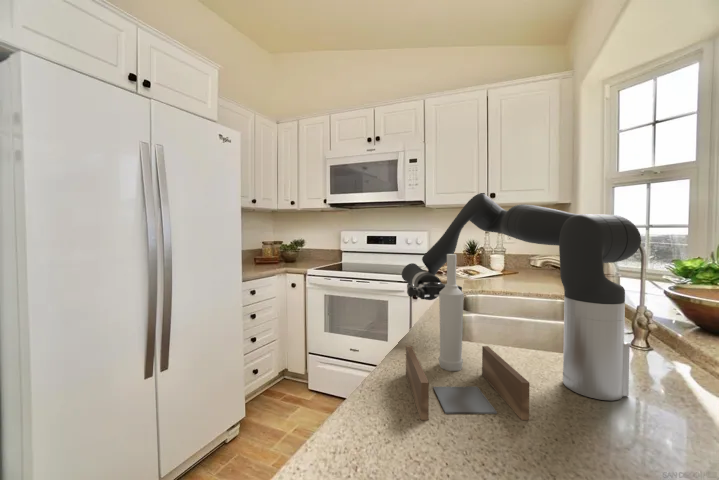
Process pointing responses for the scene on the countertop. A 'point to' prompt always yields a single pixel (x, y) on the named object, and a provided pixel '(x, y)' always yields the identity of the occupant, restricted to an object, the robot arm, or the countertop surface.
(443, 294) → the bottle
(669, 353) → the countertop surface
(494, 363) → the arena
